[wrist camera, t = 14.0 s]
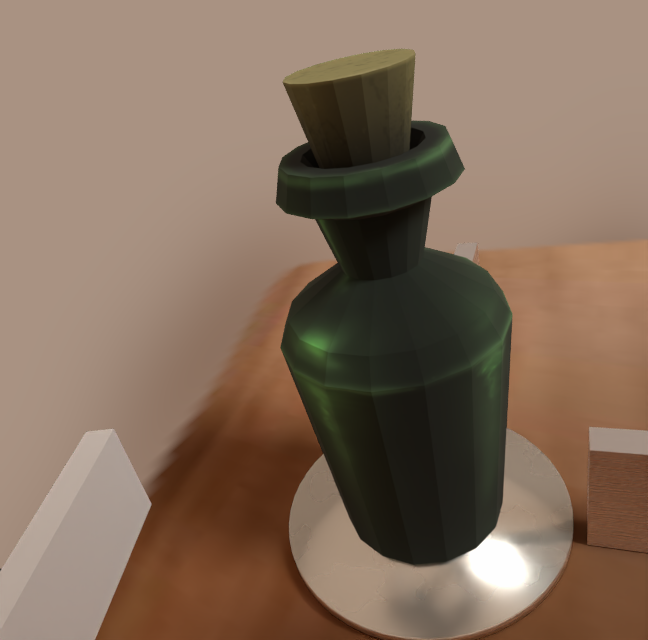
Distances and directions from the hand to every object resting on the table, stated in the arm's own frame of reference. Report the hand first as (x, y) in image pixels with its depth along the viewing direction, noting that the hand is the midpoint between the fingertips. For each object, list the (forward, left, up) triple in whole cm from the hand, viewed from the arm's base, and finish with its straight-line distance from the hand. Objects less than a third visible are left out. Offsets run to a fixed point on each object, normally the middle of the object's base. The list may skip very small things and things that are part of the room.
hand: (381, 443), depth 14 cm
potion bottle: (-4, -6, -11) cm, 13 cm away
